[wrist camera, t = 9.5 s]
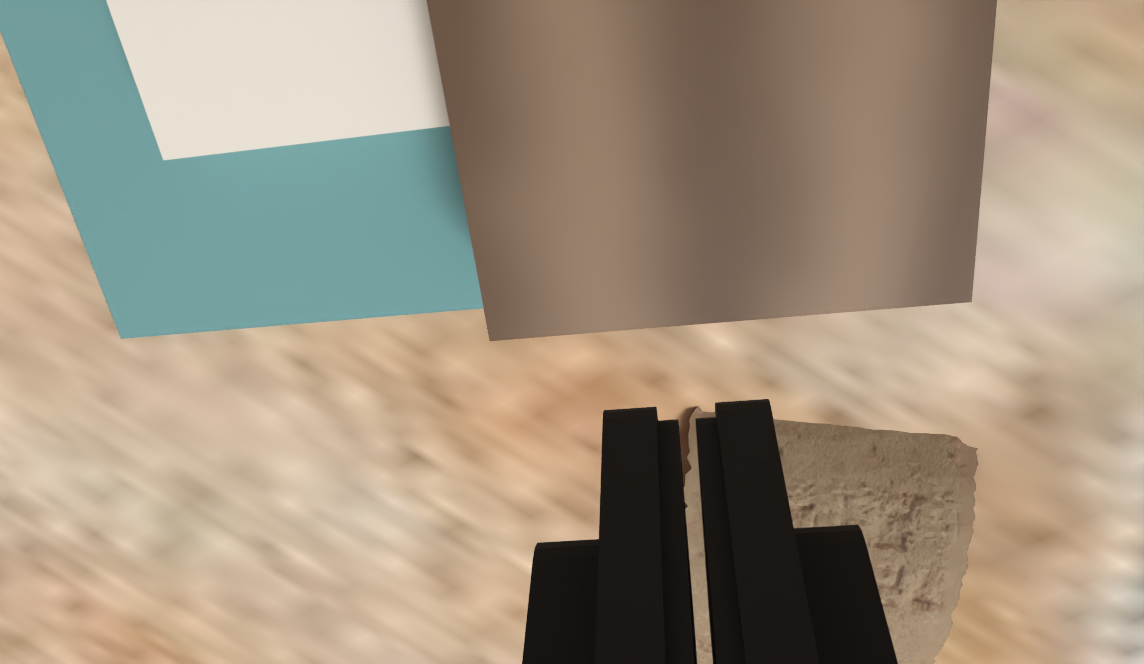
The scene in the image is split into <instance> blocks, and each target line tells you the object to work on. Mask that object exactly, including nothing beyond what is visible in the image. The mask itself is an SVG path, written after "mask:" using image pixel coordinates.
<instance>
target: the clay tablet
mask: <svg viewBox="0 0 1144 664" xmlns="http://www.w3.org/2000/svg"><path fill="white" fill-rule="evenodd" d="M708 417H716V416H715V412H702V410H701V409H700V407H699V406H698V407H697V408H696V409H695V411H694V412H693V413H692V415H691V417H690V420H689V423H690V429H689V434H688V438H689V449H690V452H689V454H688V456H687V459H688V461H689V463H690V465H691V470H690V471H689V472H688V473H687V474H686V475H685V486H684V498H685V503H686V504H687V506H688V507H687V508H686V509H685V511H686V523H687V536H688V548H689V561H690V573H691V585H692V598H693V611H694V624H695V637H696V652H697V664H713V658H712V646H711V634H710V622H709V608H708V594H707V580H706V566H705V551H704V537H703V523H702V509H701V494H700V480H699V466H698V452H697V437H696V423H695V418H708ZM773 421H774V426H775V432H776V437H777V442H778V447H779V453H780V458H781V463H782V469H783V474H784V479H785V484H786V490H787V495H788V500H789V506H790V511H791V516H792V521H793V527H794V528H806V527H824V526H841V525H859V527H860V528H861V530H862V533H863V536H864V539H865V542H866V545H867V549H868V553H869V557H870V560H871V564H872V568H873V572H874V575H875V579H876V583H877V587H878V590H879V594H880V598H881V602H882V605H883V609H884V613H885V617H886V620H887V624H888V628H889V632H890V635H891V639H892V643H893V647H894V650H895V654H896V658H897V662H898V664H934V662H935V660H934V657H935V656H936V655H937V654H938V653H939V651H940V650H941V648H942V647H943V645H944V643H945V641H946V639H947V637H948V635H949V633H950V629H951V627H952V624H953V623H952V619H951V614H952V612H953V610H954V609H955V607H956V606H957V604H958V600H959V598H960V596H959V593H960V589H961V587H962V581H961V580H962V577H963V576H964V574H965V572H966V569H967V567H968V563H967V561H968V556H967V551H968V547H969V544H970V541H971V537H972V533H973V528H972V526H973V521H974V519H975V514H974V509H973V508H974V505H975V498H974V494H973V492H974V491H975V490H976V483H975V481H974V478H973V476H974V475H975V472H976V468H977V465H978V462H977V455H976V450H977V449H978V448H973V447H969V446H967V445H966V444H964V443H962V442H961V440H960V439H959V438H958V437H953V436H950V435H945V434H927V433H907V432H900V431H891V430H871V429H864V428H859V427H851V426H839V425H831V424H815V423H805V422H795V421H785V420H775V419H773Z"/></svg>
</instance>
